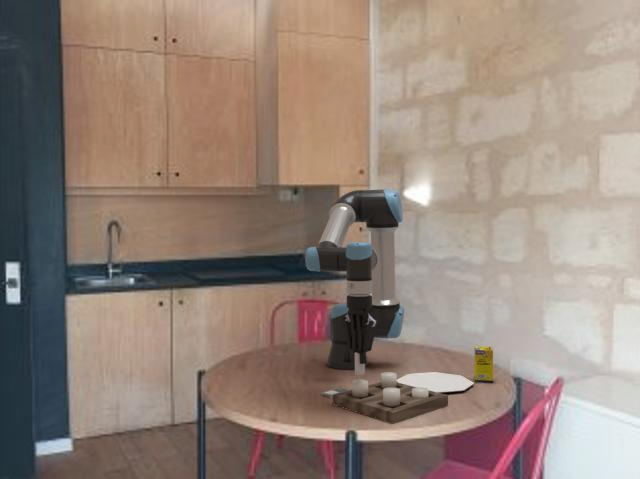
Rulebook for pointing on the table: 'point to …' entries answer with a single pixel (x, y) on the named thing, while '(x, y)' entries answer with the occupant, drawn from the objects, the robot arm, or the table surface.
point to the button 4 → (420, 393)
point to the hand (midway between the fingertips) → (359, 374)
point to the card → (334, 391)
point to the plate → (437, 382)
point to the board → (392, 414)
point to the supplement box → (483, 364)
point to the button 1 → (360, 388)
